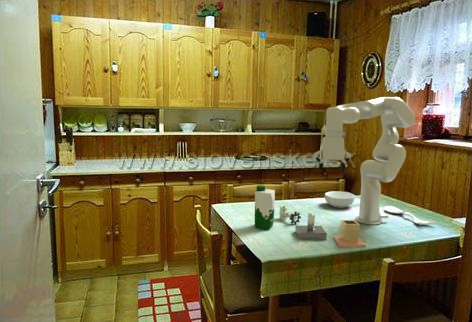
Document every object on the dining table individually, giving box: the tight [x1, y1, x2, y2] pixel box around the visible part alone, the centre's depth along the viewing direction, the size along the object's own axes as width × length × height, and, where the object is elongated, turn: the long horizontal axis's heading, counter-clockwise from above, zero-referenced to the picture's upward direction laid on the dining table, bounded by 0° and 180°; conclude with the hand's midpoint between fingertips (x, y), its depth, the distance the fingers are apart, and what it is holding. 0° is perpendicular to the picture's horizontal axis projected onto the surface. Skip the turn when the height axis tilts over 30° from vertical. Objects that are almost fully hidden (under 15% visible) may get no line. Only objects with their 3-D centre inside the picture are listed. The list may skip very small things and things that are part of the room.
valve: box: [278, 205, 302, 226], centre depth 193 cm, size 7×7×12 cm
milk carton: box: [254, 184, 276, 231], centre depth 182 cm, size 9×9×20 cm
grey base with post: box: [294, 212, 328, 241], centre depth 172 cm, size 12×10×10 cm
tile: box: [332, 235, 367, 248], centre depth 165 cm, size 11×11×1 cm
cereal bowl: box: [324, 190, 355, 209], centre depth 223 cm, size 17×17×7 cm
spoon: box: [383, 205, 437, 226], centre depth 202 cm, size 9×32×4 cm, turn 14°
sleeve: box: [339, 219, 360, 243], centre depth 165 cm, size 6×6×8 cm
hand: (331, 171), depth 176 cm, fingers open, 9 cm apart
